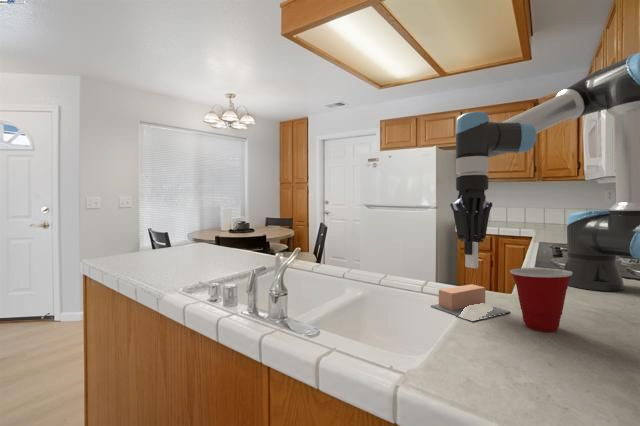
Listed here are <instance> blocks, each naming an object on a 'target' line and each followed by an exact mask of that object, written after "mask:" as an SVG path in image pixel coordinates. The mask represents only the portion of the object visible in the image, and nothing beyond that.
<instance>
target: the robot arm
mask: <svg viewBox="0 0 640 426" xmlns="http://www.w3.org/2000/svg"><path fill="white" fill-rule="evenodd" d="M605 110H606V113H607V114H609V115H612V116H613V117H614V121H613V122H614V156H615V158H614V161H615V163H614V164H615V165H614V166H615V169H614V170H615V203H614V204H613V205H612V206H611V207H610V208H608V209H600V210H599V209H598V210H585V211H577V212H573V213H570V214H569V215H568V217H567V224H566V238H567V239H566V241H567V242H566V244H567V245H566V249H567V252H566V253H567V256H566V257H567V258H566V261H565V263H564V265H563V266H564V267H563V268H562V270H567V271H571V272H572V275H571V276H570V279H569V283H568V286H569V287H573V288H578V289H585V290H592V291H601V292H602V291H603V292H617V291H619V292H620V291H622V290H624V286H625V285H624V280H623V276H622V275H621V272H620V269H619V267H618V265H617V262H616V260H617V258H616V257H624V258H625V257H626V258H631V259H636V260H640V52H635V53H633V54H631V55H629V56H628V57H626V58H623V59H621V60H619V61H617V62H614V63H612V64H609V65H608V66H606V67H603V68H601V69H598V70H596V71H594V72H593V73H590V74H589V75H587V76H585V77H584V78H581V79H580V80H579V81H577V82H575V83H573V84H572V85H570V86H568V87H566V88H564V89H561V91H559V92H558V93H557V94H556V95H555V97H552V98H550V99H548V100H546V101H544V102H542V103H541V104H538V105H536V106H534V107H532V108H530V109H527V110H525V111H523V112H521V113H519V114H516V115H514V116H512V117H510V118H508V119H506V120H503V121H502V122H496V121H495V122H493V121H490V119H489V118H490V117H489V114H488V113H487V112H485V111H472V112H471V111H470V112H466V113H463V114H461V115H459V116H458V117H457V118H456V123H455V133H454V135H455V159H456V162H455V163H456V164H455V172H456V173H455V174H456V175H458V176H456V177H455V190H456V191H457V192H458V195H457V200H456V201H455V202H451V203H450V208H451V210H452V213H453V218H454V223H455V228H456V235H457V239H458V240H460V242H463V245H464V247H463V248H464V249H463V252H464V255H465V256H464V257H465V258H464V259H465V261H464V266H465V267H466V268H470V269H479V254H480V243H483V242H484V240H486V236H487V231H488V224H489V216H490V211H491V210H492V207H493V202H491V201H490V202H488V200H486V194H485V192H486V191H487V190H488V189H489V175H487V174H488V173H489V171H490V169H489V158H491V157H496V156H500V155H505V154H509V153H511V154H512V153H513V154H518V153H526V152H529V151H531V150H532V149H533V147H534V145H535V144H536V141H537V134H539V133H540V132H544V131H546V130H547V129H549V128H552V127H553V126H555V125H558V124H559V123H561V122H565V121H566V120H567V121H573V120H576V119H578V118H580V117H583V116H586V115H589V114H593V113H597V112H602V111H605Z"/></svg>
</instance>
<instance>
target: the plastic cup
mask: <svg viewBox="0 0 640 426" xmlns="http://www.w3.org/2000/svg"><path fill="white" fill-rule="evenodd" d="M509 272H510V273H509V274H511V275H512V277H513V281H514V283H515V285H516V286H515V287H516V290H517V296H518V301H519V307H520V310H521V314H522V320H523V323H524V326H525V327H527V329H528V328H529V329H530V330H534V331H538V332H544V333H554V332H557V331H558V329H559V328H560V322H561V317H562V315H563V309H564V306H565V299H566V295H567V289H568V288H569V287H568V283H569V279H570V276H571V275H572V272H571V271H567V270H563V269H560V268H559V269H558V268H544V267H541V268H540V267H537V268H536V267H534V268H532V267H531V268H529V267H527V268H523V267H522V268H513V269H509Z"/></svg>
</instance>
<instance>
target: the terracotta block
mask: <svg viewBox="0 0 640 426" xmlns="http://www.w3.org/2000/svg"><path fill="white" fill-rule="evenodd" d="M480 303H484V304H486V287H485V286H480V285H477V284H476V285H475V284H472V283H471V284H466V285H465V284H464V285H460V286H458V285H457V286H454V287H446V288H442V289H438V304H439V306H441V307H444V308H447V309H450V310H455V309H460V308H464V307H467V306H469V305H474V304H480Z"/></svg>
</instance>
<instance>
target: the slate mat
mask: <svg viewBox="0 0 640 426" xmlns="http://www.w3.org/2000/svg"><path fill="white" fill-rule="evenodd" d="M430 308H432V309H434V310H437V311H439V312H443V313H445V314H448V315H451V316H453V317H457V316H459V315H460V314H461V312H462V311H463V309H464V308H465V307H464V308H460V309H455V310H450V309H447V308H444V307H441V306H439V303H438V304H432V305H430ZM508 312H510V313H511V311H510V310H507V309H503V308H501V307H497V306H494V307H493V310H492V311H490V312H487V313H488V314H486V316H482V318H484V317H489V316H494V315H499V314H503V313H508ZM508 314H509V313H508ZM457 318H458V317H457ZM479 319H480V318H479Z"/></svg>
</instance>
